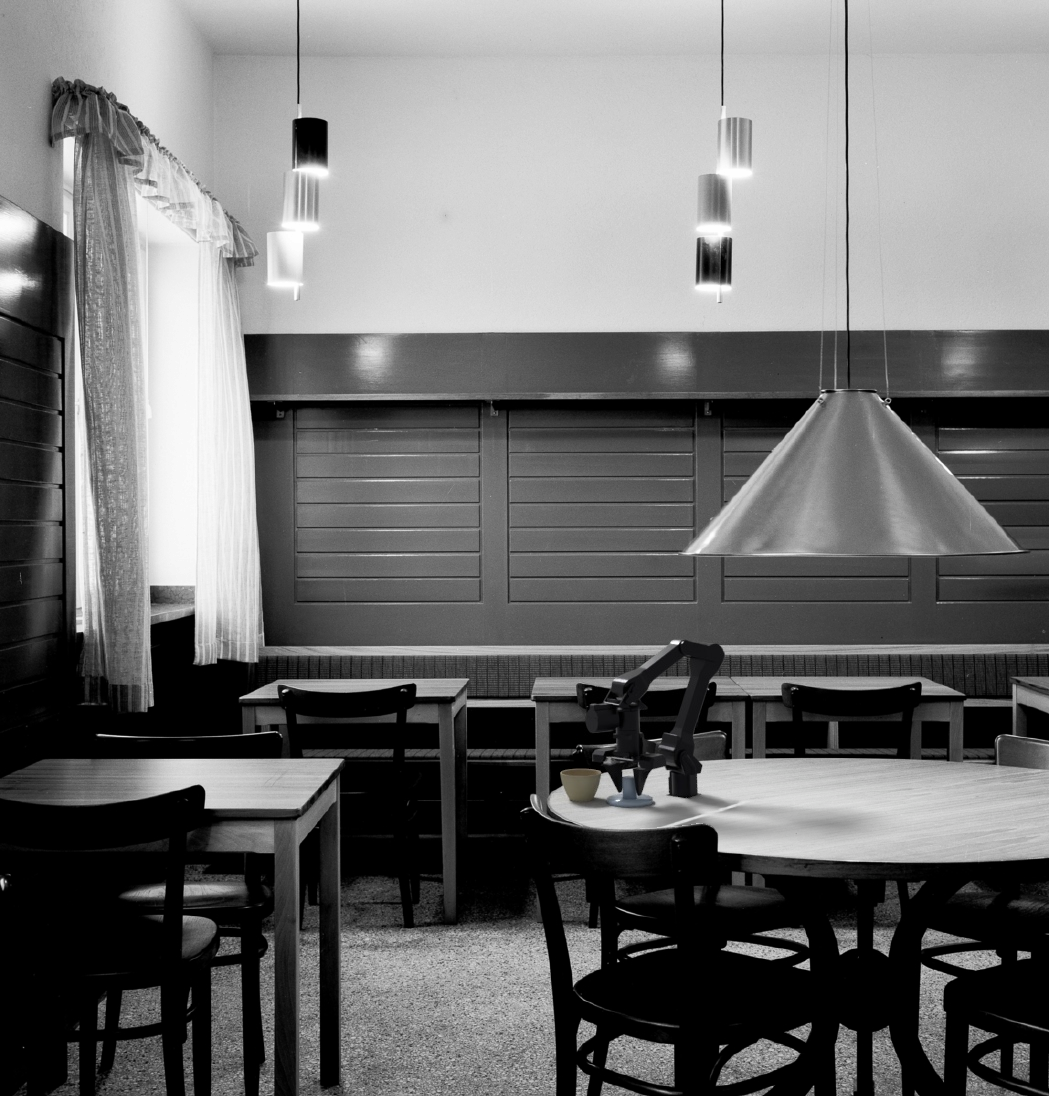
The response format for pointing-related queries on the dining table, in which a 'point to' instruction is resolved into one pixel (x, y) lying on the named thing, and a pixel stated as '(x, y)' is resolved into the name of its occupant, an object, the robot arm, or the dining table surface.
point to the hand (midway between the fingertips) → (629, 793)
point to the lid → (629, 795)
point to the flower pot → (580, 783)
